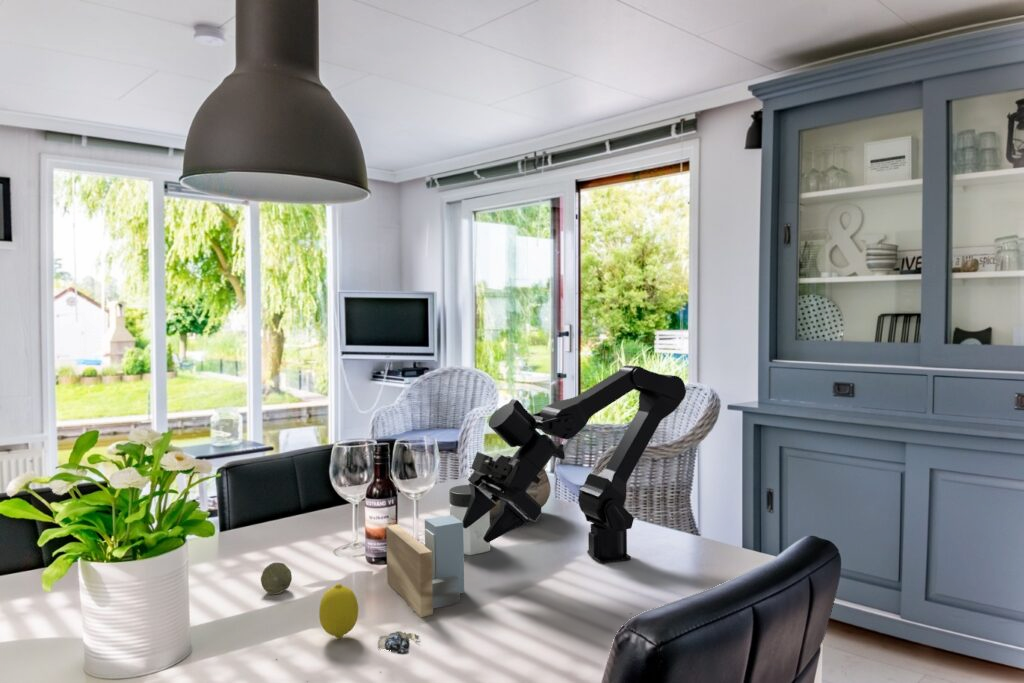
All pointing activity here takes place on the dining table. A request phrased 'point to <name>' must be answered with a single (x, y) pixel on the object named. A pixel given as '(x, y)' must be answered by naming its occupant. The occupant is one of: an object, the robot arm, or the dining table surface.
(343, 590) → the lemon
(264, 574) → the lime
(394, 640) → the blueberries
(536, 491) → the cooking pot
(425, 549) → the wooden bookend
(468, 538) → the jar
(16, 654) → the dining table surface
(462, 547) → the light blue tall block
